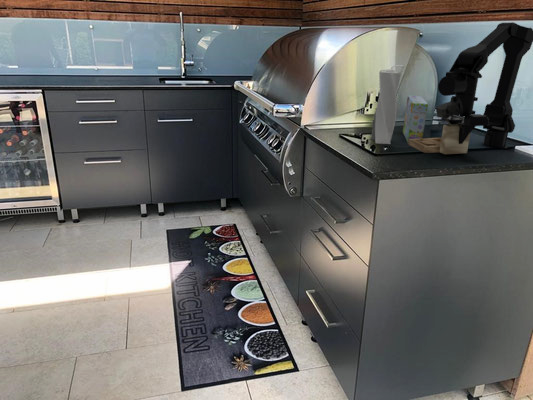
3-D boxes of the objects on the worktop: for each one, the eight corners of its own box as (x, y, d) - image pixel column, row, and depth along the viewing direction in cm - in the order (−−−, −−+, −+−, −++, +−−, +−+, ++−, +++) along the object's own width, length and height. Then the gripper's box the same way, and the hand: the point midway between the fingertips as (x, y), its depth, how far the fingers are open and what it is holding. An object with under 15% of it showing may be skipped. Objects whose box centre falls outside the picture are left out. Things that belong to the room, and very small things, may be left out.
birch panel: (439, 151, 142) (443, 124, 139) (461, 150, 144) (465, 123, 140) (444, 154, 139) (449, 126, 136) (466, 153, 141) (471, 125, 138)
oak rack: (440, 145, 156) (441, 137, 155) (459, 153, 146) (461, 145, 145) (407, 146, 154) (408, 139, 153) (424, 155, 144) (426, 146, 143)
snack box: (423, 145, 156) (429, 103, 150) (406, 145, 157) (412, 102, 151) (416, 133, 175) (421, 95, 170) (401, 132, 176) (406, 94, 171)
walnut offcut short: (424, 143, 151) (424, 140, 150) (433, 146, 146) (433, 143, 146) (417, 144, 150) (417, 140, 150) (426, 147, 146) (426, 144, 145)
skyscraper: (393, 142, 161) (402, 63, 151) (395, 148, 153) (405, 65, 143) (370, 141, 162) (377, 63, 152) (371, 147, 155) (379, 65, 144)
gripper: (425, 90, 142) (419, 137, 148) (460, 98, 125) (452, 151, 131) (456, 89, 144) (448, 135, 150) (494, 97, 127) (484, 149, 133)
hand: (457, 142), depth 141 cm, fingers closed on birch panel, 3 cm apart
